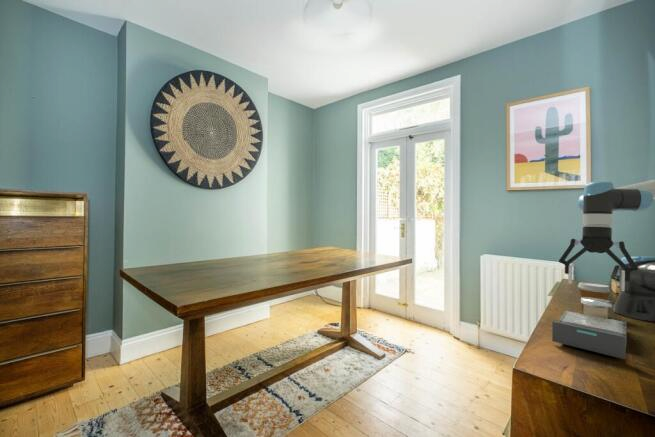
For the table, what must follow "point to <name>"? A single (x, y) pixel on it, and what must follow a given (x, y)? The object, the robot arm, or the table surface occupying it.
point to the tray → (589, 339)
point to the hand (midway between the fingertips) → (595, 286)
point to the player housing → (594, 322)
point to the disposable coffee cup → (593, 291)
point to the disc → (596, 302)
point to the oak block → (596, 311)
